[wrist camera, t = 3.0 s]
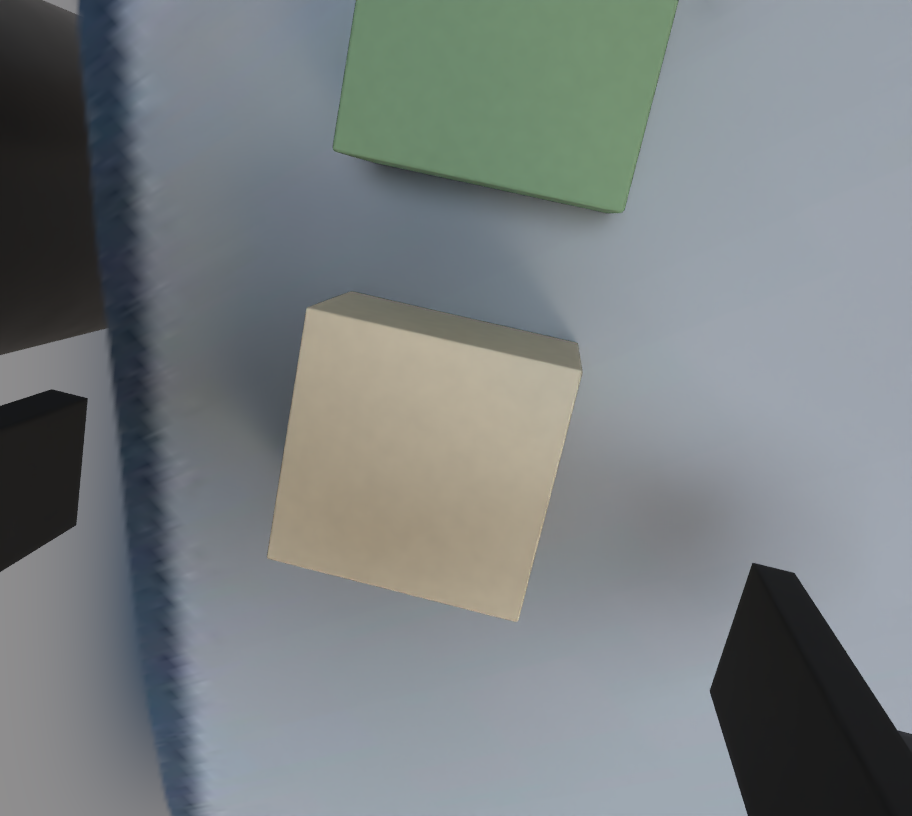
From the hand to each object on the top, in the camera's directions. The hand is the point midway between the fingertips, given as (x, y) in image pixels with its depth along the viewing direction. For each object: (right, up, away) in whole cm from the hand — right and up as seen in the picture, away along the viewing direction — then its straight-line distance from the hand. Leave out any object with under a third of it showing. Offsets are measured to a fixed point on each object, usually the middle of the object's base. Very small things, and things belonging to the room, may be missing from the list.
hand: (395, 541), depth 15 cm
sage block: (+3, +11, +5) cm, 13 cm away
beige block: (+1, +2, +8) cm, 8 cm away
